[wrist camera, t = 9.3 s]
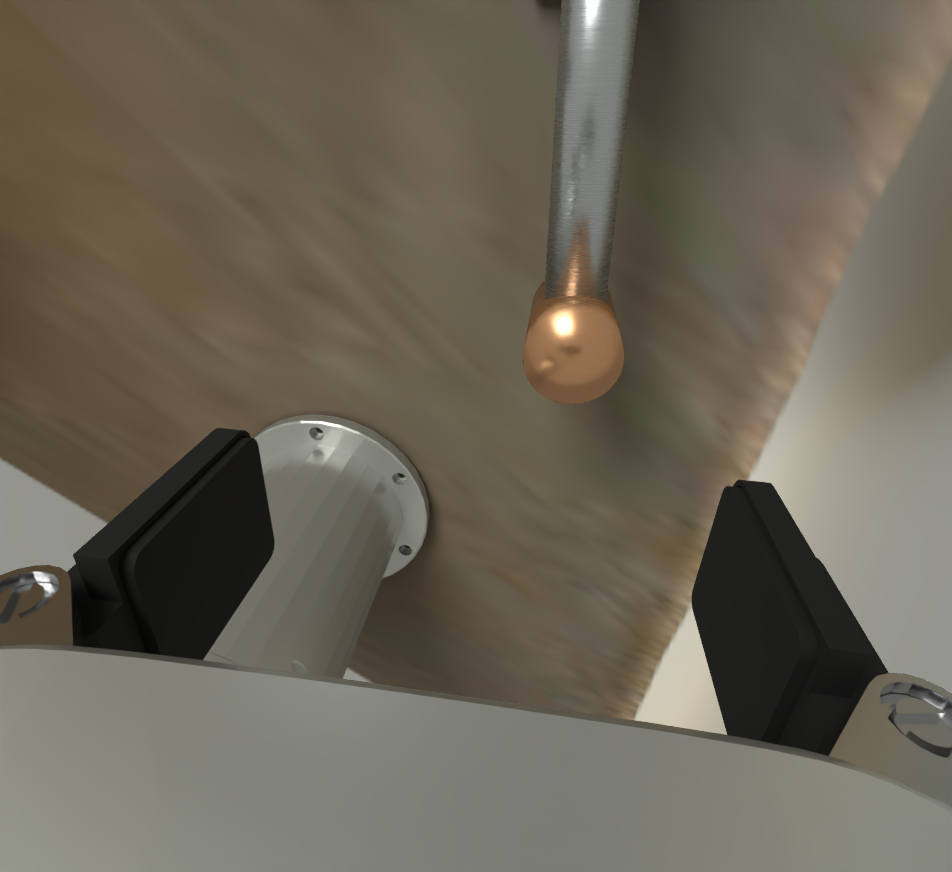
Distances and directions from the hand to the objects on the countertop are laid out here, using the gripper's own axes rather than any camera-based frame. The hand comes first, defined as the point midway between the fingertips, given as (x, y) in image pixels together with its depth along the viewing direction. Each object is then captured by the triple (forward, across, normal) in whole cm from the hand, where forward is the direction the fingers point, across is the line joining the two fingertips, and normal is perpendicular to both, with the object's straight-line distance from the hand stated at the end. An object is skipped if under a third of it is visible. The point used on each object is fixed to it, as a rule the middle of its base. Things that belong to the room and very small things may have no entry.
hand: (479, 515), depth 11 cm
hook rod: (+16, -2, -8) cm, 18 cm away
